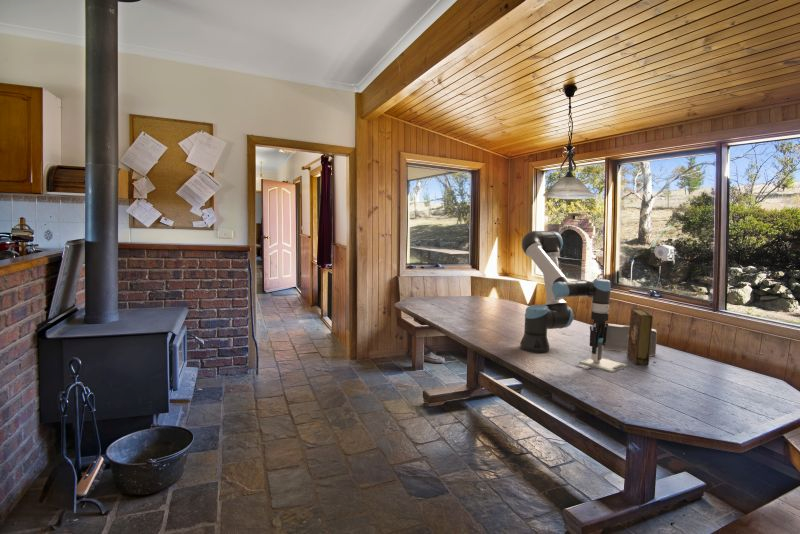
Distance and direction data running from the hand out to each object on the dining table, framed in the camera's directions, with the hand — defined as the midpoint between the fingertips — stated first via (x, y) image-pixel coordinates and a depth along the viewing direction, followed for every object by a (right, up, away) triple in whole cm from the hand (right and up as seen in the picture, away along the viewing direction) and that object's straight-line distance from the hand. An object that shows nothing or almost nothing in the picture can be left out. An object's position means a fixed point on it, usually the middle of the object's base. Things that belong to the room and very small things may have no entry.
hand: (596, 359), depth 217 cm
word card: (-8, -3, -3) cm, 9 cm away
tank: (+30, 0, +28) cm, 41 cm away
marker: (0, -2, 0) cm, 2 cm away
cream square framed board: (+3, -3, 0) cm, 4 cm away
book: (+24, -3, +8) cm, 25 cm away
